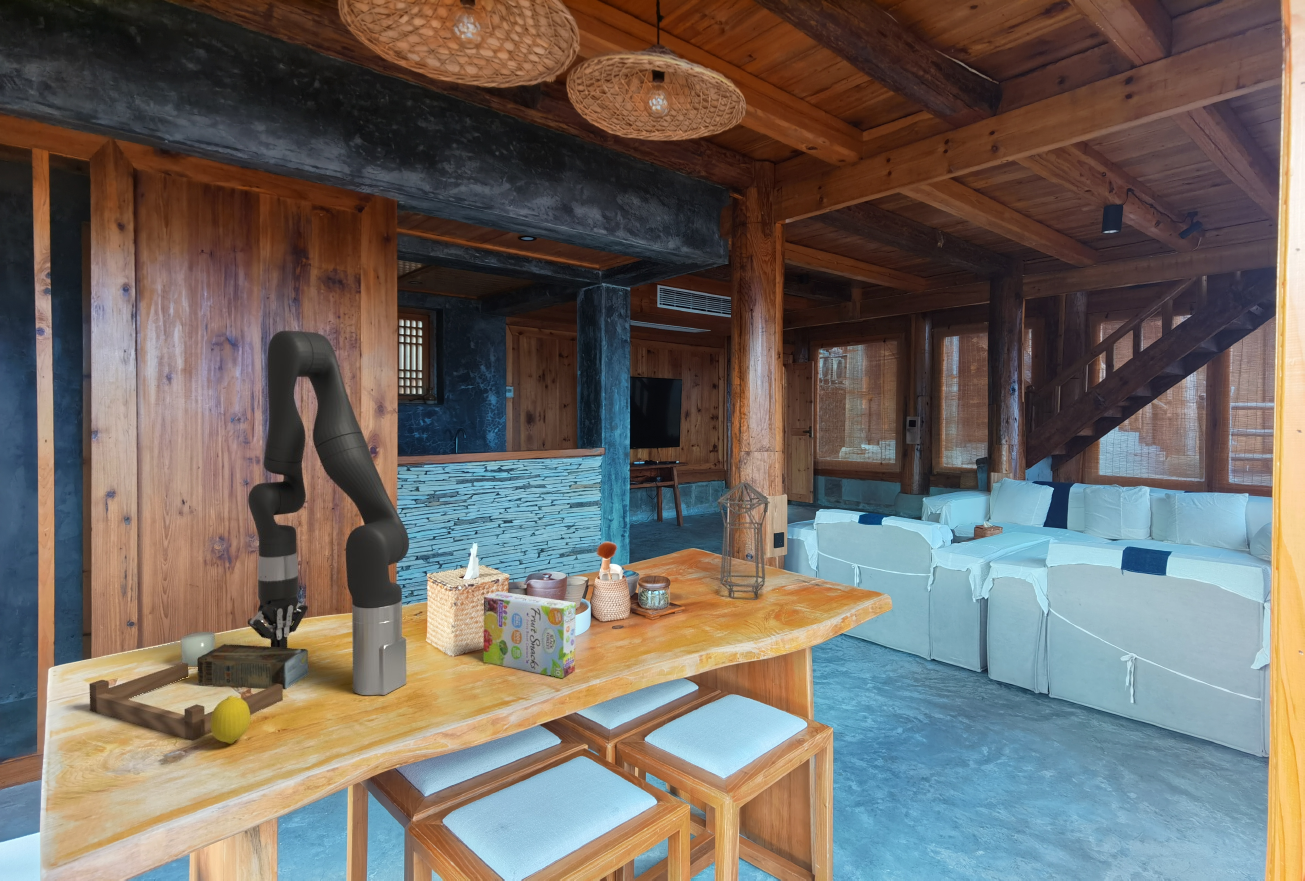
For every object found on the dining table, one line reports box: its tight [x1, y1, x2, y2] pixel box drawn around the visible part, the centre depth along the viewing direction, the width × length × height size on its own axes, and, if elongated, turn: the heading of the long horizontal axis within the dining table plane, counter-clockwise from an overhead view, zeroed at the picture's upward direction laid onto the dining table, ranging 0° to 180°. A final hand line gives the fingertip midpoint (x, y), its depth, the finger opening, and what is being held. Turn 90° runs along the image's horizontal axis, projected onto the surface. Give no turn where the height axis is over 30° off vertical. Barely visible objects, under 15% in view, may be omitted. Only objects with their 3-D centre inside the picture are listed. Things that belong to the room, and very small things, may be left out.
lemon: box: [211, 695, 251, 745], centre depth 109 cm, size 6×6×8 cm
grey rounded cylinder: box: [180, 631, 216, 667], centre depth 143 cm, size 6×6×6 cm
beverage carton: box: [197, 643, 309, 690], centre depth 134 cm, size 8×19×7 cm, turn 85°
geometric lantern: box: [717, 481, 771, 601], centre depth 201 cm, size 16×16×35 cm
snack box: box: [482, 591, 577, 679], centre depth 143 cm, size 21×6×15 cm, turn 65°
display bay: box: [88, 662, 284, 741], centre depth 123 cm, size 28×17×5 cm, turn 68°
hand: (279, 654), depth 140 cm, fingers closed
